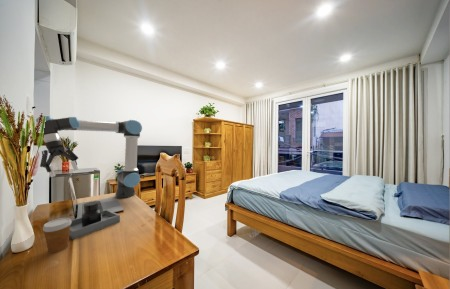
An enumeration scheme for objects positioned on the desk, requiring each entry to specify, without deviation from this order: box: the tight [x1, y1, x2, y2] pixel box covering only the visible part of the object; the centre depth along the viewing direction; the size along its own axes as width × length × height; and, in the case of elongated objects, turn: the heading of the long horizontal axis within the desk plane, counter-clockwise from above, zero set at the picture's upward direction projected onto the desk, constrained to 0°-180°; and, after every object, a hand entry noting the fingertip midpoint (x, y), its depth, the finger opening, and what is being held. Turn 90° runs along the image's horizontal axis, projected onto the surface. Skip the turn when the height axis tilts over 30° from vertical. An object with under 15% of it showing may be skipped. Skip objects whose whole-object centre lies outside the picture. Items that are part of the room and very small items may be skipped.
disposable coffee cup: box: [42, 217, 72, 254], centre depth 78 cm, size 10×10×12 cm
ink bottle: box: [81, 200, 102, 227], centre depth 99 cm, size 10×9×12 cm
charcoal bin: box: [69, 209, 121, 240], centre depth 99 cm, size 22×16×4 cm
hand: (65, 173), depth 111 cm, fingers open, 13 cm apart
